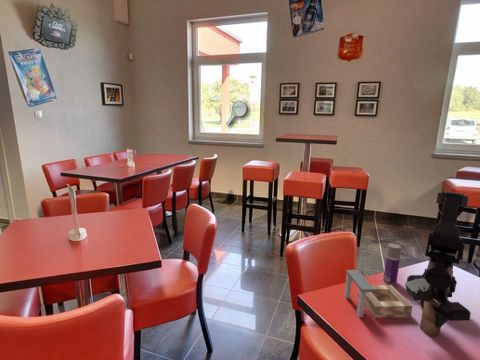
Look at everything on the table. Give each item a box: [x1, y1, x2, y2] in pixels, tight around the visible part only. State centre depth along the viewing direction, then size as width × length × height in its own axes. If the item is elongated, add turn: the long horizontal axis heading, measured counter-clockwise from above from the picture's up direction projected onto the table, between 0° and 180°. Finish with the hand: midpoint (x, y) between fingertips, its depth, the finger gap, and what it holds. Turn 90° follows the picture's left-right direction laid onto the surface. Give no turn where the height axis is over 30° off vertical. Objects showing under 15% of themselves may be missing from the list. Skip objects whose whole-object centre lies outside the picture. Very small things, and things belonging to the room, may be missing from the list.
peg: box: [419, 299, 442, 337], centre depth 86 cm, size 5×5×9 cm
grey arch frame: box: [344, 269, 375, 318], centre depth 97 cm, size 4×12×10 cm, turn 3°
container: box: [382, 243, 402, 286], centre depth 112 cm, size 5×5×15 cm
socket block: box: [357, 284, 413, 319], centre depth 98 cm, size 12×12×4 cm
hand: (431, 321), depth 87 cm, fingers closed on peg, 5 cm apart
